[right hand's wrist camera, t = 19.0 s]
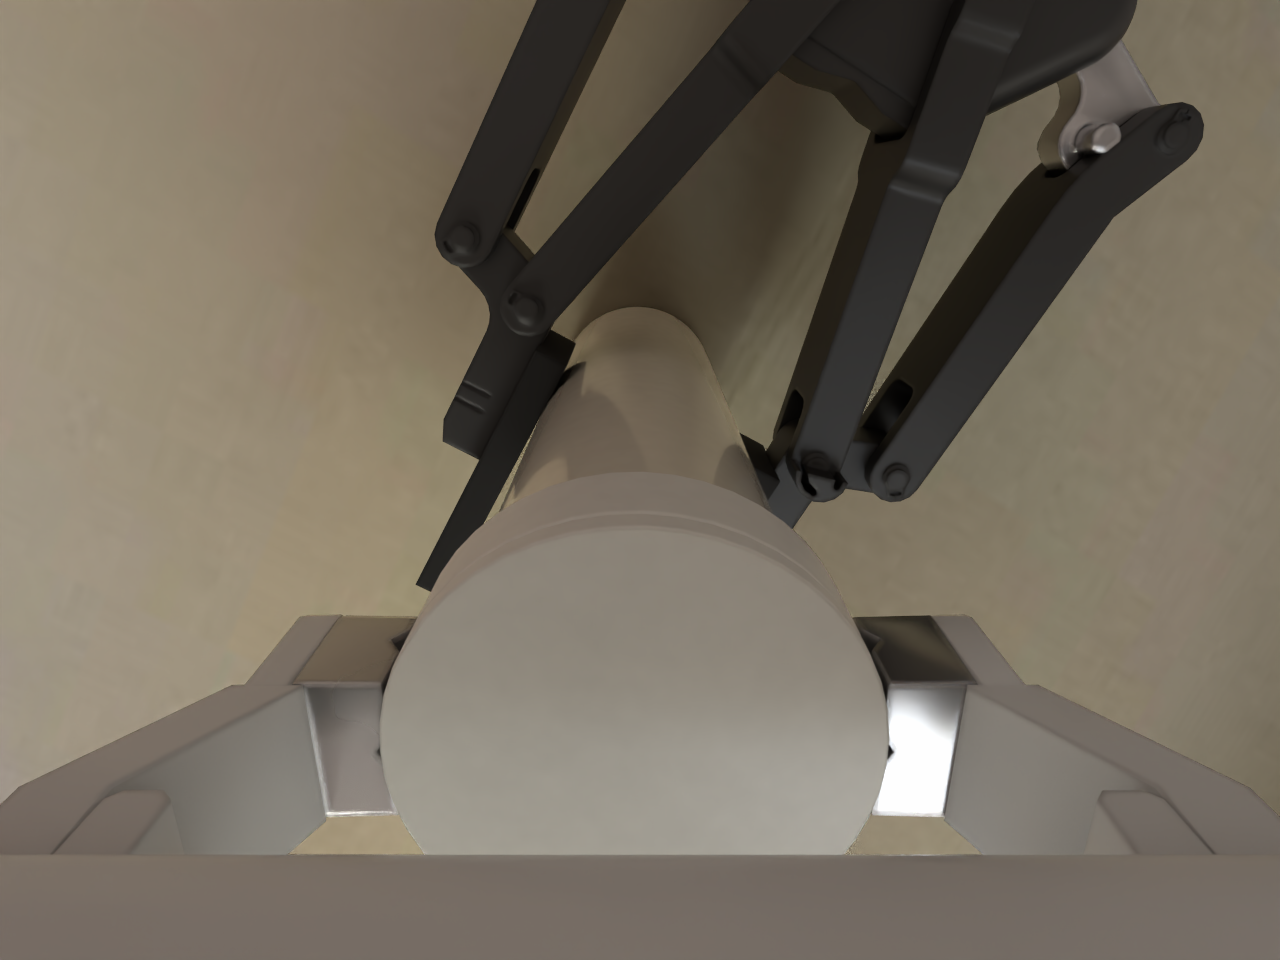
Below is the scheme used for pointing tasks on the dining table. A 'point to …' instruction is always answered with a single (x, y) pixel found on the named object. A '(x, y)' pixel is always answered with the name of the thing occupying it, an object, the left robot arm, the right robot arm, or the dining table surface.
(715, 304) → the dining table surface
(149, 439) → the dining table surface
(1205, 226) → the dining table surface
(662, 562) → the lid
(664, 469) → the beige cylinder
